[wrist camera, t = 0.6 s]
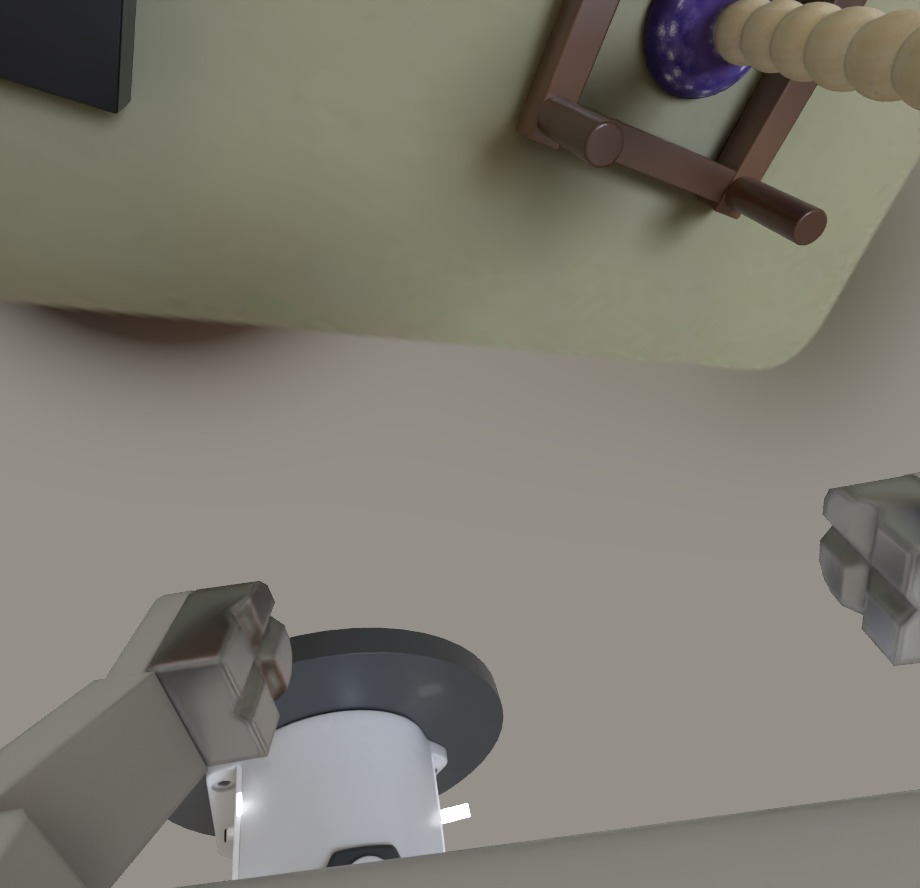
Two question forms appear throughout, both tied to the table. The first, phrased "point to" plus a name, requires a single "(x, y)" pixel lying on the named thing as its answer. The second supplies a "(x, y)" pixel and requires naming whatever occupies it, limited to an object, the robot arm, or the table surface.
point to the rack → (610, 140)
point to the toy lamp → (783, 46)
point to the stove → (70, 48)
